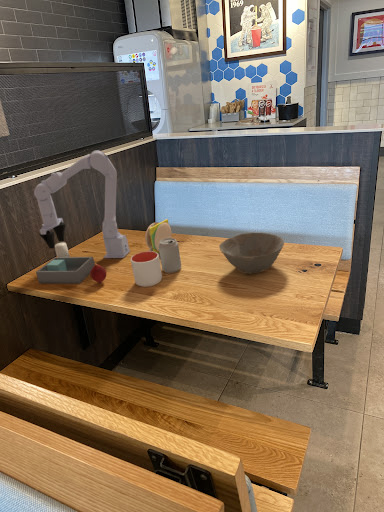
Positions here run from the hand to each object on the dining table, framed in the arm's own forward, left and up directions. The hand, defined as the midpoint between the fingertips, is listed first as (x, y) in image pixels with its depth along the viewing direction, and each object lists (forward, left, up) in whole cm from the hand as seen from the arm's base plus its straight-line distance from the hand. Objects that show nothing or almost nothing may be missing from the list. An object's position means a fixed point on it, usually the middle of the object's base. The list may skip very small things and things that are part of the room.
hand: (57, 244), depth 164 cm
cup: (-44, +15, -10) cm, 48 cm away
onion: (-25, +16, -10) cm, 32 cm away
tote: (-8, +10, -9) cm, 16 cm away
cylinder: (+3, -6, -9) cm, 11 cm away
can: (-50, +5, -10) cm, 52 cm away
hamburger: (-39, -15, -10) cm, 43 cm away
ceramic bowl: (-81, +5, -10) cm, 82 cm away
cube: (-4, +10, -9) cm, 14 cm away
